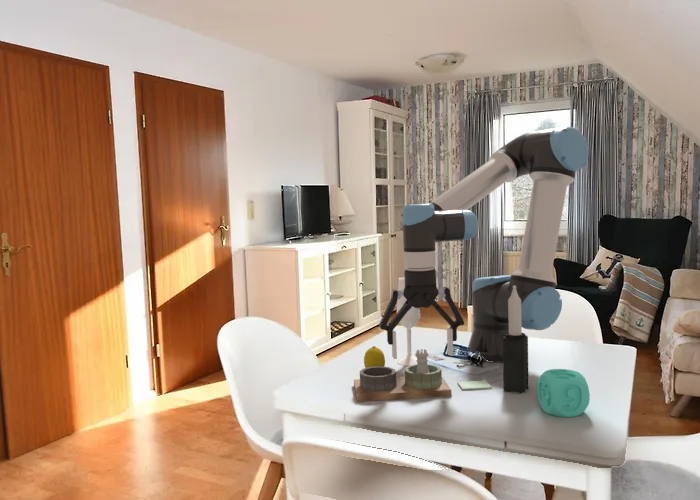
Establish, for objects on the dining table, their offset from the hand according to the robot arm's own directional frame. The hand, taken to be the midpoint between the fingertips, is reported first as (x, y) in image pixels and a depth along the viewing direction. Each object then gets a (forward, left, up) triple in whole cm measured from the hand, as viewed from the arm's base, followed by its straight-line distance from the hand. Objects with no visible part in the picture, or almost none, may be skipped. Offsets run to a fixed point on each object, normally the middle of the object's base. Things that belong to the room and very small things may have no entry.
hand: (422, 356), depth 143 cm
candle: (-22, +4, -8) cm, 23 cm away
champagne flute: (0, -24, -8) cm, 25 cm away
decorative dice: (-26, +19, -8) cm, 34 cm away
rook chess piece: (0, 0, -7) cm, 7 cm away
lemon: (+10, -13, -8) cm, 19 cm away
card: (-12, 0, -8) cm, 15 cm away
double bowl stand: (+6, 0, -8) cm, 10 cm away
